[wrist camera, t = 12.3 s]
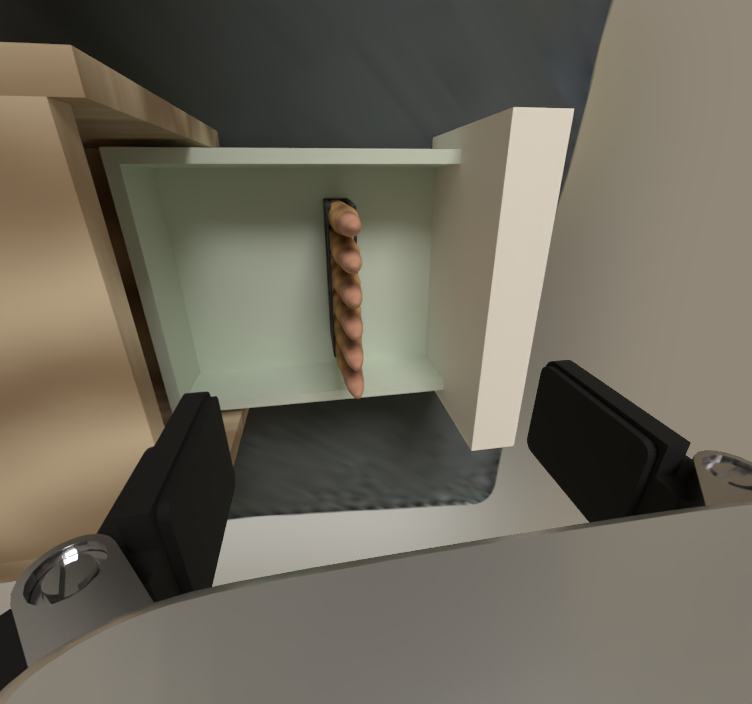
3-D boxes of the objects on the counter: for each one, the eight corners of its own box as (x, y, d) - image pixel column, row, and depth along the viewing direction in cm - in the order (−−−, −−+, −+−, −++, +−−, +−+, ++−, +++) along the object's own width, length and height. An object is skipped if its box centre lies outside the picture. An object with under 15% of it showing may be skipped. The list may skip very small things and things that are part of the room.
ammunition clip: (352, 333, 32) (375, 411, 21) (330, 335, 31) (342, 414, 21) (348, 197, 27) (374, 206, 16) (322, 198, 27) (332, 206, 16)
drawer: (139, 134, 25) (5, 94, 14) (488, 138, 28) (601, 109, 17) (198, 388, 32) (143, 489, 22) (465, 366, 36) (532, 443, 25)
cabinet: (-155, 126, 23) (-1245, -12, 7) (217, 131, 26) (70, 44, 10) (-14, 402, 31) (-359, 635, 15) (256, 380, 35) (210, 552, 18)
